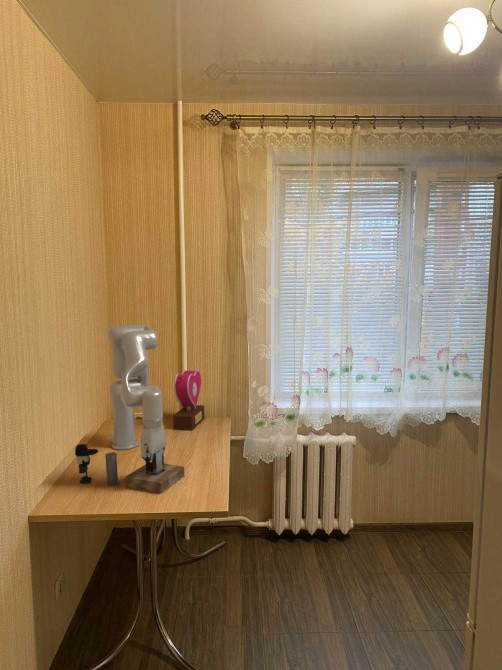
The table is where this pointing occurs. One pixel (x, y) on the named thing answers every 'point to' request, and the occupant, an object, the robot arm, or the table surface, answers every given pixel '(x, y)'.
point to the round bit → (111, 469)
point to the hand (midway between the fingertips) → (155, 467)
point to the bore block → (154, 478)
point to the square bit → (157, 463)
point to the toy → (84, 461)
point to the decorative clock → (188, 401)
